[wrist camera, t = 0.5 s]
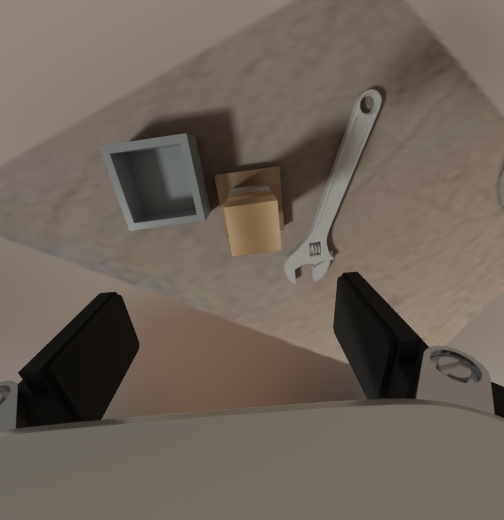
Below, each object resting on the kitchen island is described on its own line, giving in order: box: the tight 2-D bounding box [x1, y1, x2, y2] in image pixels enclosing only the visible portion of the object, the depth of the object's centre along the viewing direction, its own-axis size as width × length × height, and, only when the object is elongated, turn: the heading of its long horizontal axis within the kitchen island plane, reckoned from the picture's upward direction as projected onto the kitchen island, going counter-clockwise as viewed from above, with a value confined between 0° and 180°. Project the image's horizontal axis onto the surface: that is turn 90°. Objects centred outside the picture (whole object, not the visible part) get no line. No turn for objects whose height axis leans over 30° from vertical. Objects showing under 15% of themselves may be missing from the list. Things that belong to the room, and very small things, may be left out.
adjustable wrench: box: [284, 89, 382, 283], centre depth 31 cm, size 25×6×2 cm, turn 161°
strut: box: [224, 184, 281, 257], centre depth 25 cm, size 4×4×11 cm
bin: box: [99, 133, 211, 231], centre depth 28 cm, size 9×9×5 cm
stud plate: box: [214, 166, 284, 237], centre depth 29 cm, size 8×8×6 cm
